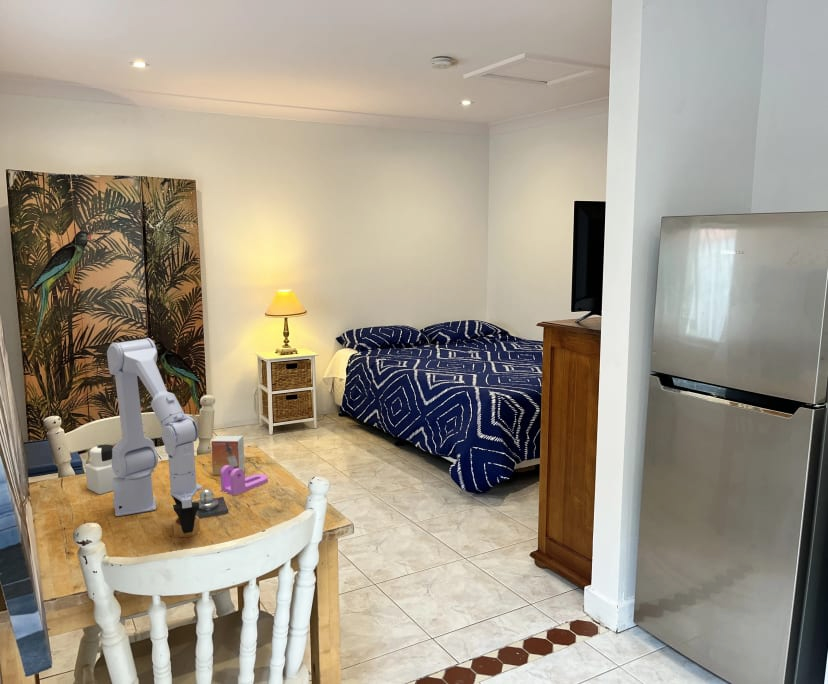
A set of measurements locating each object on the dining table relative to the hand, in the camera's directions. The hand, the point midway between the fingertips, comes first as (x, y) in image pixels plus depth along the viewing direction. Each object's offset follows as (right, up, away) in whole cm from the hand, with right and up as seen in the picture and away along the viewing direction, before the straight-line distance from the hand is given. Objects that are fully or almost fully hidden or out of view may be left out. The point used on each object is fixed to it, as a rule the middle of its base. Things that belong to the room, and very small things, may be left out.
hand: (186, 525), depth 159 cm
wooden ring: (0, -2, 0) cm, 2 cm away
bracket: (+7, +3, +28) cm, 29 cm away
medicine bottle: (-32, +3, +28) cm, 42 cm away
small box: (-1, +5, +39) cm, 39 cm away
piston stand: (+1, +1, +13) cm, 13 cm away
